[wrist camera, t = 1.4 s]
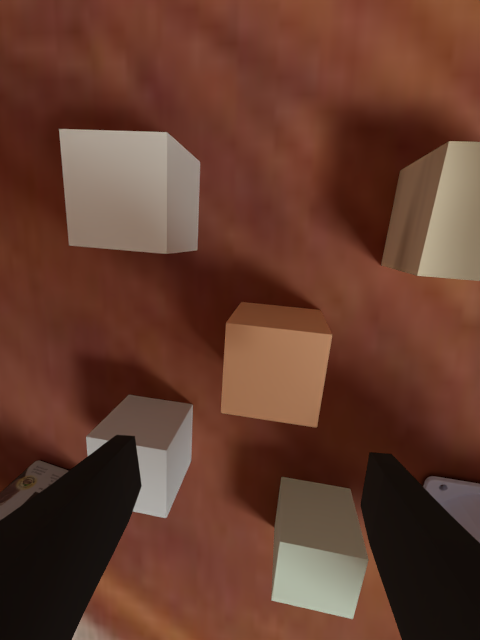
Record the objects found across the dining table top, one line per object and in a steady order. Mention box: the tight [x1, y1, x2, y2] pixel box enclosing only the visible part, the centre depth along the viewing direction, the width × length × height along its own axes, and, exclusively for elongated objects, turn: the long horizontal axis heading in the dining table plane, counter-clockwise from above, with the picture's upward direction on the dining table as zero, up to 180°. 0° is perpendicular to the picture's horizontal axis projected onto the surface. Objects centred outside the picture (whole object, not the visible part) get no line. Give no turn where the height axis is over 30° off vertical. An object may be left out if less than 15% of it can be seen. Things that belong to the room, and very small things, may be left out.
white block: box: [59, 129, 200, 254], centre depth 16 cm, size 5×5×5 cm
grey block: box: [86, 395, 193, 518], centre depth 20 cm, size 5×5×5 cm
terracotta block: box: [221, 302, 332, 428], centre depth 17 cm, size 5×5×5 cm
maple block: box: [381, 141, 480, 281], centre depth 14 cm, size 5×5×5 cm
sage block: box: [271, 477, 368, 619], centre depth 20 cm, size 5×5×5 cm
